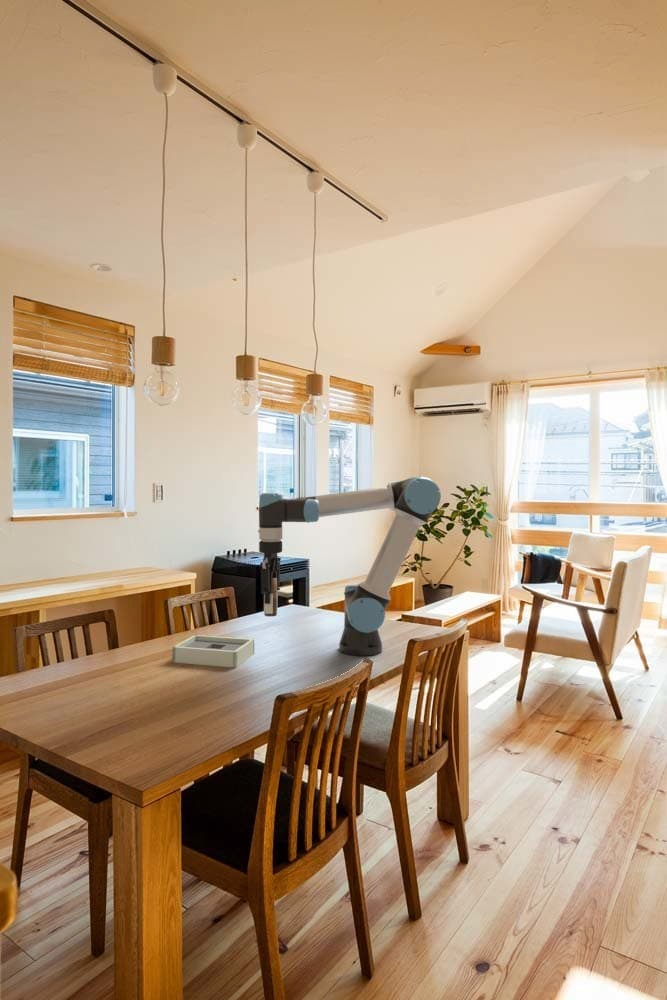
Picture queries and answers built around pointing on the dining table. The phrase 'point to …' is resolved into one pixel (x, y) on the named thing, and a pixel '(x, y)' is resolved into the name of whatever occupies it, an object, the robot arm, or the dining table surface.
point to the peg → (274, 598)
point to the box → (213, 651)
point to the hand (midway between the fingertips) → (270, 611)
